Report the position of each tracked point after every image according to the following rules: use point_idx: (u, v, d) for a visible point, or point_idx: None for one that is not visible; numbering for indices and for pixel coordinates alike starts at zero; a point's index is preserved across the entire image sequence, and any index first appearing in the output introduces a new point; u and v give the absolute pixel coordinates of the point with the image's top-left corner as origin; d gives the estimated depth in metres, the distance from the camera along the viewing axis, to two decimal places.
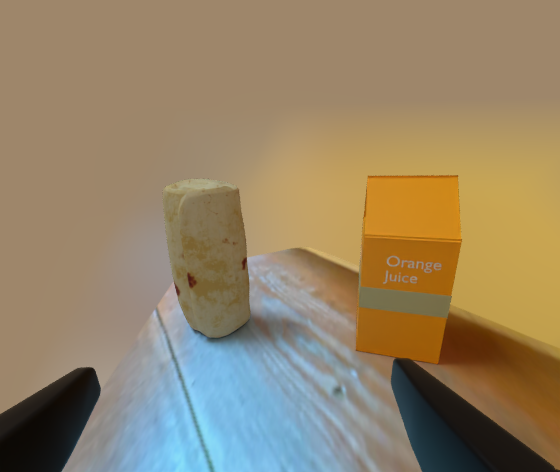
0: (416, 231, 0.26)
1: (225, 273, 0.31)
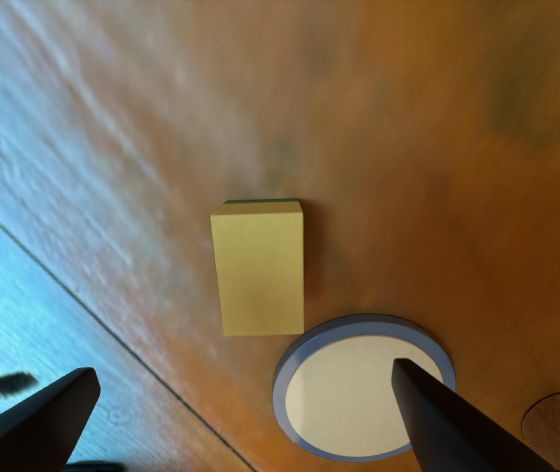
0: None
1: None
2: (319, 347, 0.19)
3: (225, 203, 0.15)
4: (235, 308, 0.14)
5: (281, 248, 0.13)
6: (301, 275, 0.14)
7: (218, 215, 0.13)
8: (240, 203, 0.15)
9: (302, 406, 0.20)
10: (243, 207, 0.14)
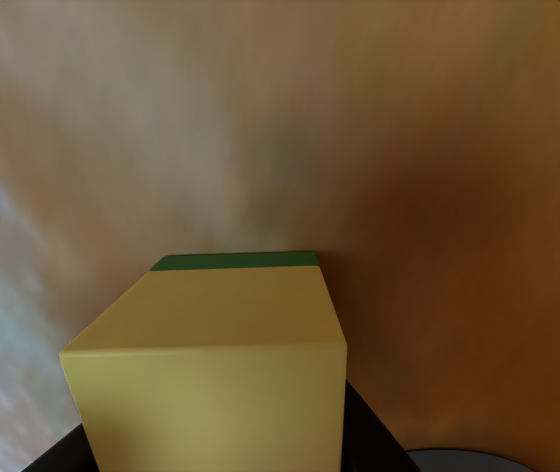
0: None
1: None
2: None
3: (155, 268, 0.07)
4: None
5: (278, 432, 0.05)
6: None
7: (83, 352, 0.04)
8: (186, 271, 0.07)
9: None
10: (183, 295, 0.06)
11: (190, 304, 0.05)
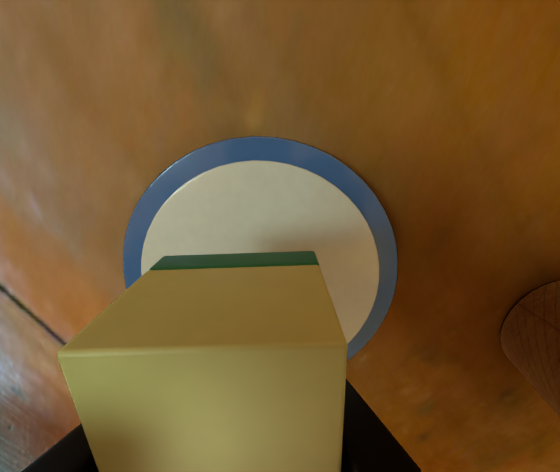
0: None
1: None
2: (181, 186, 0.12)
3: (155, 268, 0.07)
4: None
5: (278, 432, 0.04)
6: None
7: (82, 351, 0.04)
8: (186, 271, 0.07)
9: None
10: (183, 294, 0.06)
11: (190, 303, 0.05)
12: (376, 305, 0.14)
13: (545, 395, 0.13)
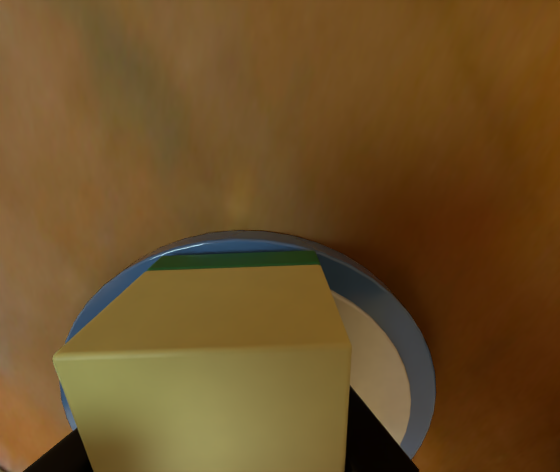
0: None
1: None
2: None
3: (153, 268, 0.07)
4: None
5: (281, 436, 0.04)
6: None
7: (78, 355, 0.04)
8: (185, 271, 0.06)
9: None
10: (182, 295, 0.05)
11: (189, 304, 0.05)
12: (404, 441, 0.10)
13: None
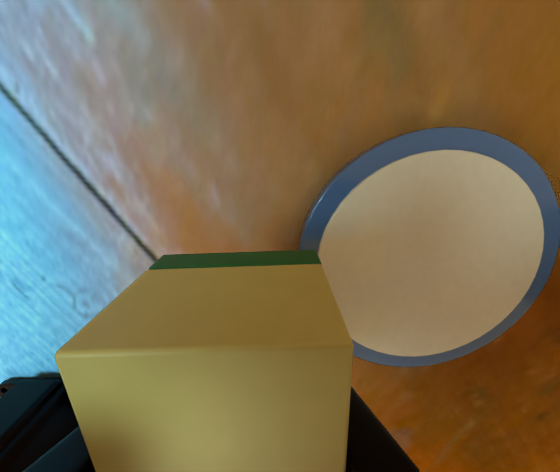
0: None
1: None
2: (369, 174, 0.13)
3: (154, 267, 0.07)
4: None
5: (281, 435, 0.04)
6: None
7: (81, 352, 0.04)
8: (186, 270, 0.07)
9: (340, 274, 0.14)
10: (183, 294, 0.05)
11: (191, 303, 0.05)
12: (530, 287, 0.15)
13: None
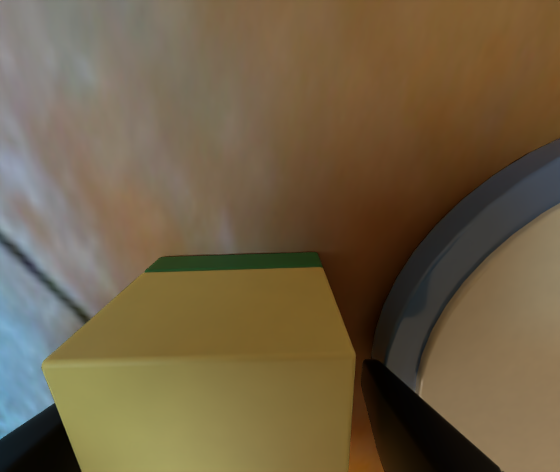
0: None
1: None
2: (554, 202, 0.06)
3: (150, 270, 0.07)
4: None
5: (280, 448, 0.04)
6: None
7: (69, 362, 0.04)
8: (183, 273, 0.06)
9: (465, 387, 0.07)
10: (179, 299, 0.05)
11: (186, 308, 0.05)
12: None
13: None
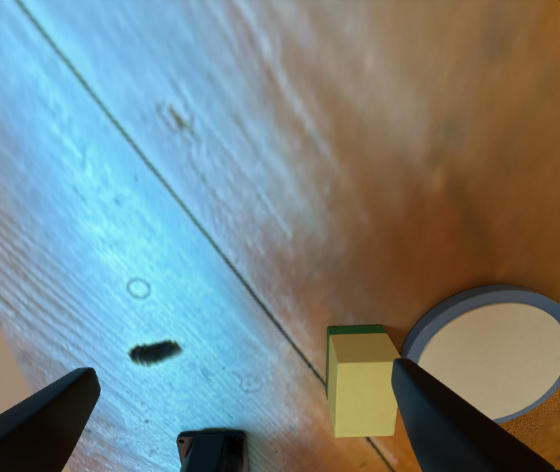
0: None
1: None
2: (457, 314, 0.20)
3: (331, 333, 0.21)
4: (346, 419, 0.19)
5: (385, 382, 0.18)
6: None
7: (343, 363, 0.18)
8: (344, 335, 0.20)
9: (433, 371, 0.22)
10: (352, 346, 0.19)
11: (357, 349, 0.19)
12: (557, 379, 0.22)
13: None
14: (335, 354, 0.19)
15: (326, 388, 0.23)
